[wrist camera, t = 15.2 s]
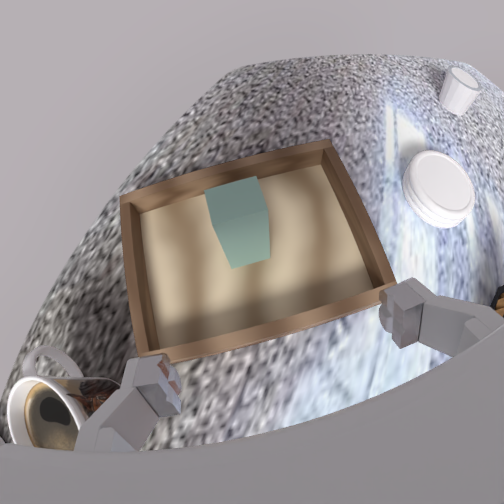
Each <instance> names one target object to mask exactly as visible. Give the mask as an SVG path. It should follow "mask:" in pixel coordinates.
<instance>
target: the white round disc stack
mask: <svg viewBox="0 0 504 504" xmlns="http://www.w3.org/2000/svg"><path fill="white" fill-rule="evenodd" d="M402 186H403V192H404V195H405V198H406V200H407V202H408V204H409V206H410V207H411V208H412V210H413V211H414V212H415V213H416V214H417V215H418V216H419V217H420V218H421V219H422V220H424V221H425V222H427V223H428V224H430V225H432V226H435V227H438V228H452V227H454V226H457V225H458V224H459V223H460V222H461V221H462V220H464V219H465V217H467V216H468V215H469V214H470V213H471V211H472V209H473V206H474V202H475V193H474V188H473V185H472V182H471V180H470V178H469V176H468V174H467V173H466V172H465V170H464V169H463V168H462V167H461V165H460V164H459V163H457V162H456V161H455V160H454V159H453V158H451V157H449V156H448V155H446V154H444V153H441V152H438V151H434V150H425V151H421V152H419V153H418V154H416V155H415V156H414V157H413V158H412V160H411V162H410V163H409V165H408V167H407V169H406V170H405V172H404V175H403V181H402Z"/></svg>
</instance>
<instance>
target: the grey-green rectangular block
mask: <svg viewBox="0 0 504 504" xmlns="http://www.w3.org/2000/svg"><path fill="white" fill-rule="evenodd" d="M204 193H205V197H206V201H207V206H208V210H209V214H210V218H211V222H212V226H213V228H214V231H215V233H216V235H217V237H218V240H219V242H220V244H221V246H222V249H223V251H224V253H225V255H226V258H227V260H228V262H229V264H230V266H231V269H234V268H238V267H241V266H245V265H248V264H252V263H255V262H259V261H262V260H266V259H269V258H270V238H269V217H268V208H267V205H266V202H265V199H264V196H263V193H262V191H261V188H260V185H259V182H258V179H257V176H254V177H250V178H246V179H242V180H239V181H235V182H231V183H228V184H224V185H221V186H217V187H214V188H210V189H207V190H204Z"/></svg>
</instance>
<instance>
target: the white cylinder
mask: <svg viewBox="0 0 504 504" xmlns="http://www.w3.org/2000/svg"><path fill="white" fill-rule="evenodd" d="M481 89H482V87H481V85H480V83H479V82H478V81H477V79H476V78H475V77H473V76H472V75H471V74H470V73H468V72H467V71H465V70H464V69H462V68H460V67H457V66H453V65H452V66H449V67H448V69H447V73H446V76H445V79H444V83H443V86H442V89H441V92H440V95H439V101H440V102H441V104H442V105H443V106H444V107H445V108H446V109H447V110H448V111H450V112H451V113H453V114H456V115H463V114H464V113H465V112H466V111H467V109H468V108H469V107H470V105H471V104H472V103H473V101H474V100H475V98H476V97H477V96H478V94H479V93H480V91H481Z"/></svg>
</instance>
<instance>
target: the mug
mask: <svg viewBox="0 0 504 504" xmlns="http://www.w3.org/2000/svg"><path fill="white" fill-rule="evenodd" d="M38 356H48V357H50V358H52V359H54V360H56V361H57V362H58V363H59V364H60V365H61V366H62V367H63V368H64V369H65V370H66V372H67V373H68V374H69V376H70V377H57V376H38V375H37V372H36V367H35V366H36V359H37V357H38ZM23 375H24V377H23V378H21V379H20V380H18V381H17V382H16V383H15V384H14V386H13V387H12V389H11V391H10V394H9V398H8V403H7V418H8V425H9V429H10V433H11V436H12V439H13V441H14V444H18V445H24V446H30V447H37V448H46V449H56V450H68V451H74V447H75V444H76V440H77V436H78V433H79V429H80V427H81V426H82V425H83V424H84V423H85V422H86V421H87V420H88V419H89V418H90V417H91V415H92V414H93V413H94V412H95V411H96V410H97V409H98V408H99V407H100V406H101V405H102V404H103V403H104V402H105V401H106V400H107V399H108V398H109V397H110V396H111V395H112V394H113V393H114V392H115V391H116V390H118V389H120V386H121V385H120V384H119V383H117V382H115V381H113V380H111V379H108V378H104V377H84V376H83V374H82V372H81V370H80V368H79V367H78V366H77V364H76V363H75V362H74V361H73V360H72V359H71V358H70V357H69V356H68V355H67V354H66V353H64V352H63V351H61V350H59V349H58V348H55V347H53V346H49V345H41V346H38V347H36V348H35V349H34V350H32V351H31V352H29V353H28V354H27V355H26V356H25V358H24V361H23Z"/></svg>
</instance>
